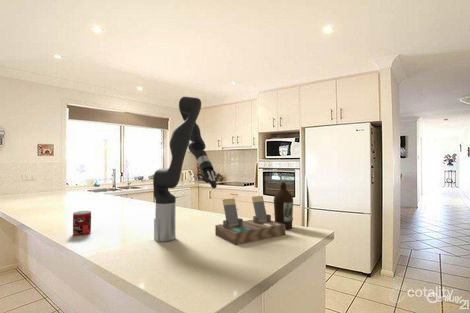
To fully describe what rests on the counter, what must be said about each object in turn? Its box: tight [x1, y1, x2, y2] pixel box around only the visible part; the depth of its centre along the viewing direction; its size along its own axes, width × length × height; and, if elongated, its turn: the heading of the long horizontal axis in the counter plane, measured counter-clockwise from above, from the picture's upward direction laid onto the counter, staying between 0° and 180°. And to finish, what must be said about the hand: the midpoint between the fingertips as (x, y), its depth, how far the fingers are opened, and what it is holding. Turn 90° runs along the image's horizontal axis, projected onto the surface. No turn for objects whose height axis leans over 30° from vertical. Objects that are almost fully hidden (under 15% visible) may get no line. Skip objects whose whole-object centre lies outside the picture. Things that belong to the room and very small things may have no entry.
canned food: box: [72, 210, 92, 237], centre depth 133 cm, size 8×8×11 cm
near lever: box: [222, 197, 239, 227], centre depth 130 cm, size 6×2×13 cm, turn 122°
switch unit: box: [214, 213, 286, 246], centre depth 131 cm, size 30×18×8 cm, turn 122°
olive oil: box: [273, 181, 294, 231], centre depth 146 cm, size 11×11×25 cm
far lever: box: [251, 195, 267, 222], centre depth 139 cm, size 6×2×13 cm, turn 122°
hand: (214, 187), depth 144 cm, fingers closed
